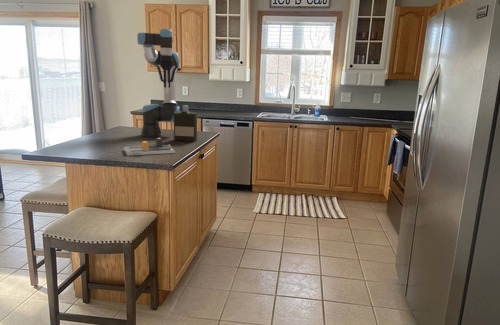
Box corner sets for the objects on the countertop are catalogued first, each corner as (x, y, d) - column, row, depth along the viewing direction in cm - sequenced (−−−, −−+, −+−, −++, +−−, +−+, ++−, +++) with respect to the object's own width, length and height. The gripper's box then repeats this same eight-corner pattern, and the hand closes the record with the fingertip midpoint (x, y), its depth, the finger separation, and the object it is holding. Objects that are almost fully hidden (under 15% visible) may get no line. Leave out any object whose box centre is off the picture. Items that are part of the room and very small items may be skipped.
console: (124, 150, 221) (124, 146, 220) (169, 147, 232) (169, 144, 231) (126, 155, 207) (126, 152, 207) (175, 153, 219) (174, 149, 218)
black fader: (156, 145, 227) (156, 137, 225) (161, 145, 228) (160, 137, 226) (157, 147, 223) (157, 138, 222) (162, 146, 224) (162, 138, 223)
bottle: (175, 138, 261) (175, 104, 255) (197, 140, 261) (197, 105, 255) (173, 141, 254) (172, 105, 247) (195, 142, 253) (195, 106, 247)
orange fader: (142, 149, 215) (141, 141, 213) (147, 149, 216) (147, 140, 215) (143, 151, 211) (142, 142, 210) (148, 150, 212) (148, 142, 211)
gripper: (157, 54, 221) (157, 93, 227) (178, 55, 226) (178, 93, 232) (154, 54, 228) (155, 92, 234) (175, 55, 233) (175, 92, 239)
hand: (167, 92), depth 233 cm, fingers closed
